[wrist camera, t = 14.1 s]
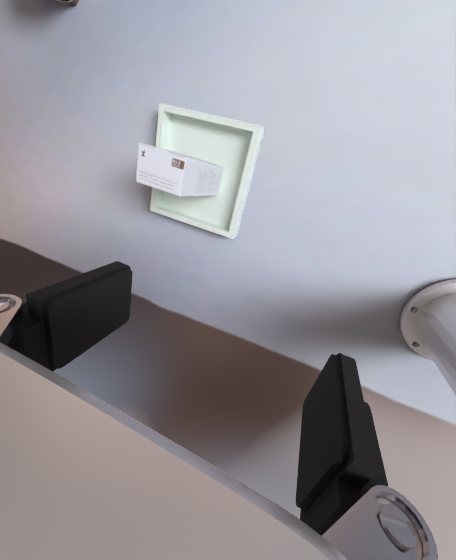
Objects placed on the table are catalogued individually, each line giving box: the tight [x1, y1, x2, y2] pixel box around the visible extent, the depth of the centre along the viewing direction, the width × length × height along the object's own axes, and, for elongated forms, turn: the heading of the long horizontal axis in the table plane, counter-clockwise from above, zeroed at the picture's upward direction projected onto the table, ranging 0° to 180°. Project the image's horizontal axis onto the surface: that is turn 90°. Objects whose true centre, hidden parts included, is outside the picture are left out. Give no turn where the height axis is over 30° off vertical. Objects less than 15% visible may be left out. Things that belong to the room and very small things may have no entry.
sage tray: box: [150, 103, 265, 239], centre depth 35 cm, size 15×15×2 cm
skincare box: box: [136, 143, 224, 197], centre depth 31 cm, size 6×4×12 cm
